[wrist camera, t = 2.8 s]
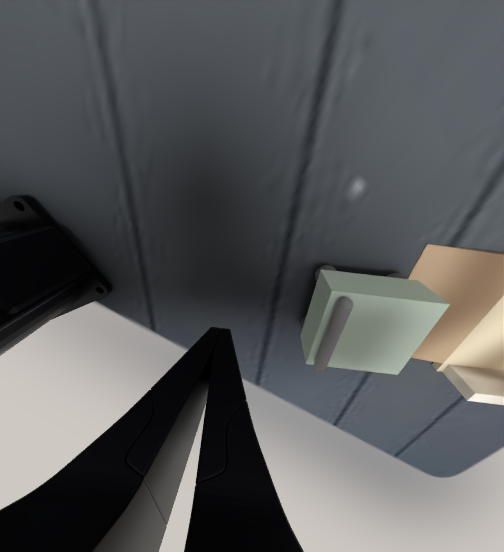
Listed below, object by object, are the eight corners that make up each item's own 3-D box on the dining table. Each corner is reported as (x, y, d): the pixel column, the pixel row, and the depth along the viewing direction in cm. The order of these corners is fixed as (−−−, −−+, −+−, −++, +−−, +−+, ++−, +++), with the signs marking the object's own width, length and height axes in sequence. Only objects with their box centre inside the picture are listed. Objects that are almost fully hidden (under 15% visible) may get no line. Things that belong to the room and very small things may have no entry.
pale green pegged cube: (297, 323, 13) (308, 374, 10) (315, 260, 11) (336, 299, 8) (371, 332, 13) (404, 385, 10) (405, 270, 11) (462, 313, 8)
